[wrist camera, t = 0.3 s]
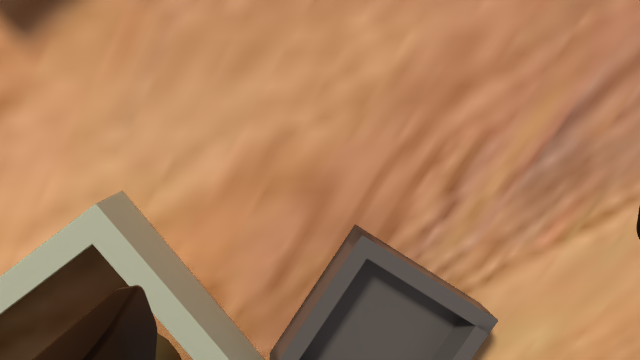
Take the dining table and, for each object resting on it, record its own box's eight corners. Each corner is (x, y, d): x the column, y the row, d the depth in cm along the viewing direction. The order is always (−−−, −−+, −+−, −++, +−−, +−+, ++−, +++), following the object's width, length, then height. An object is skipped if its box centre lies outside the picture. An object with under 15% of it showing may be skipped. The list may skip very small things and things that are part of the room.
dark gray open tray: (395, 424, 27) (406, 452, 25) (270, 352, 26) (269, 375, 23) (480, 303, 26) (498, 320, 24) (355, 224, 25) (362, 235, 23)
